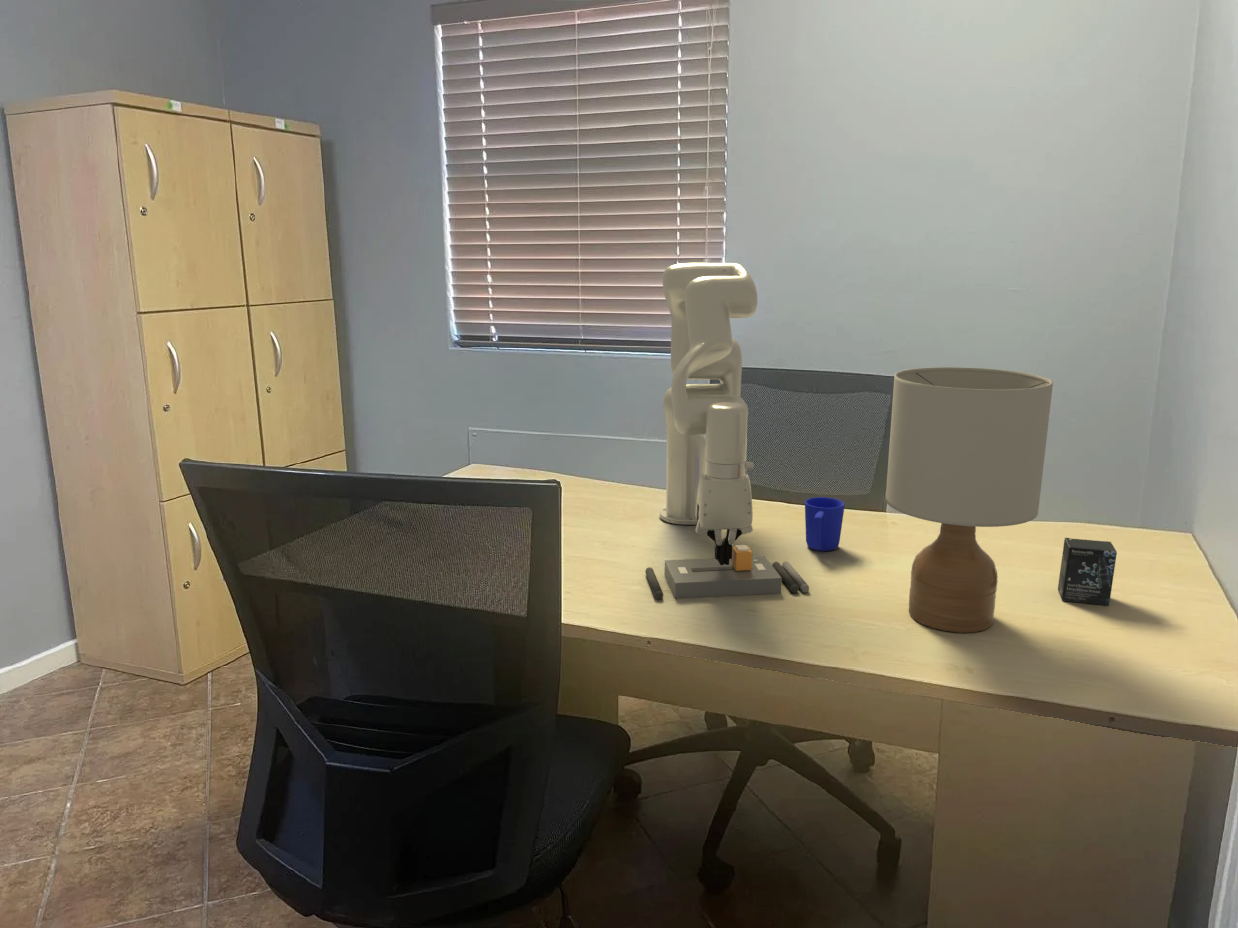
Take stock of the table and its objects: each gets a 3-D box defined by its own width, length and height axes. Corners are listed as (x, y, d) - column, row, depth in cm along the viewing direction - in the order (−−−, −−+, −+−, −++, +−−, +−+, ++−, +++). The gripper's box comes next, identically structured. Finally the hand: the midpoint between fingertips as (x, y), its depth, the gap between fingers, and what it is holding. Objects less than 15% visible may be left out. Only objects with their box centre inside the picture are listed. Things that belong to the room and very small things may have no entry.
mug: (795, 556, 187) (797, 510, 184) (806, 539, 197) (808, 495, 195) (835, 562, 184) (838, 515, 181) (844, 543, 194) (847, 499, 192)
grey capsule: (771, 568, 180) (771, 560, 180) (779, 567, 180) (779, 560, 180) (791, 594, 167) (791, 586, 167) (799, 593, 167) (800, 585, 167)
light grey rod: (780, 567, 180) (781, 560, 180) (788, 567, 181) (789, 560, 180) (801, 593, 167) (802, 585, 167) (810, 593, 167) (810, 585, 167)
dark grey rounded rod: (644, 574, 177) (644, 566, 177) (652, 573, 178) (652, 566, 177) (655, 600, 164) (655, 592, 164) (663, 600, 165) (663, 592, 164)
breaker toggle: (731, 564, 174) (732, 544, 173) (746, 563, 174) (747, 543, 173) (736, 570, 170) (736, 550, 169) (751, 570, 170) (752, 550, 169)
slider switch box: (664, 574, 177) (664, 559, 176) (763, 570, 179) (764, 555, 178) (675, 598, 166) (675, 582, 165) (781, 593, 168) (781, 577, 167)
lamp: (863, 590, 169) (878, 367, 159) (993, 591, 168) (1017, 367, 158) (898, 646, 146) (918, 389, 135) (1049, 648, 145) (1080, 390, 135)
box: (1061, 601, 163) (1068, 546, 161) (1057, 590, 169) (1063, 536, 166) (1110, 606, 161) (1117, 550, 158) (1103, 595, 166) (1111, 540, 164)
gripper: (759, 463, 171) (756, 554, 176) (682, 465, 170) (680, 557, 174) (770, 473, 164) (766, 568, 169) (689, 475, 162) (688, 571, 167)
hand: (723, 562), depth 171 cm, fingers closed
